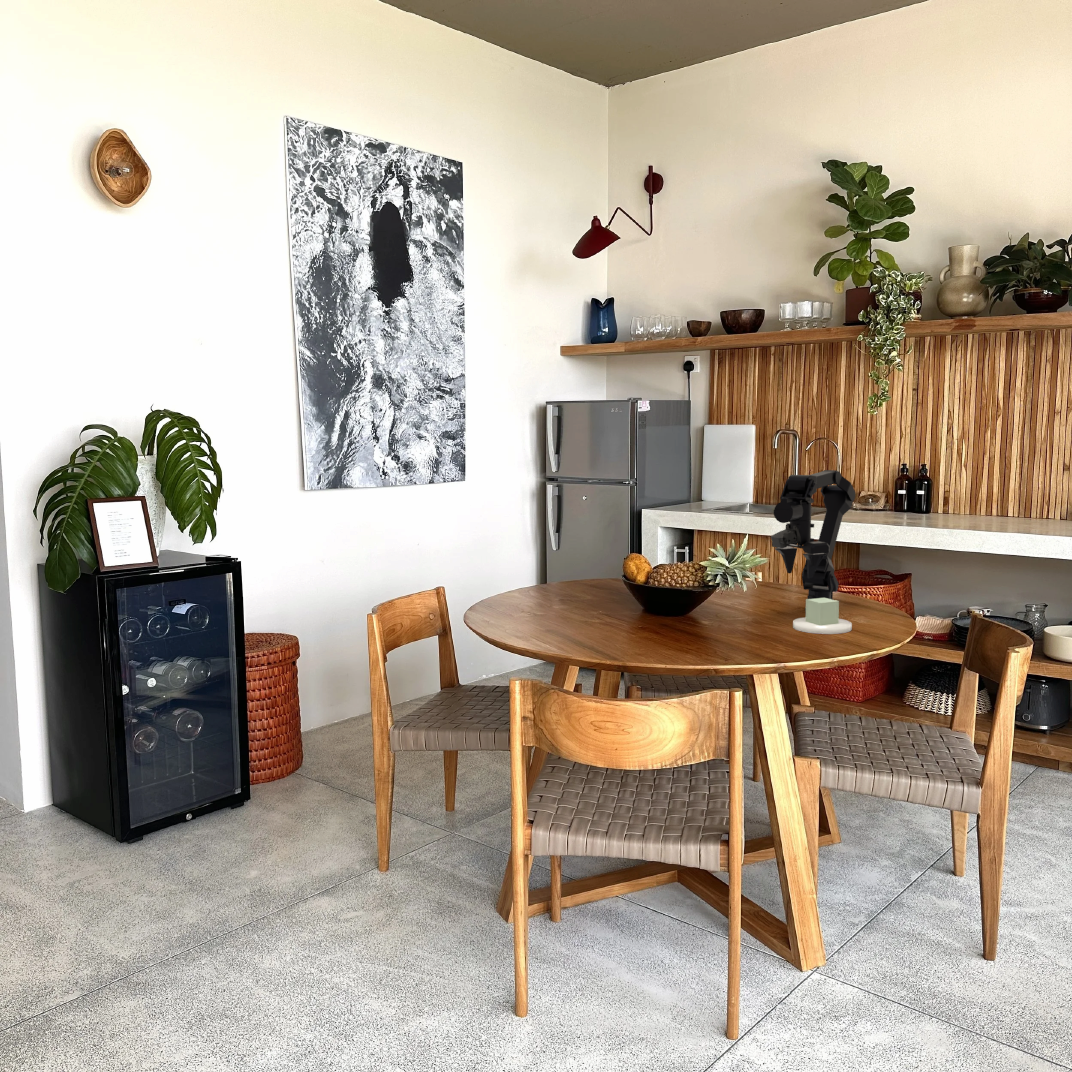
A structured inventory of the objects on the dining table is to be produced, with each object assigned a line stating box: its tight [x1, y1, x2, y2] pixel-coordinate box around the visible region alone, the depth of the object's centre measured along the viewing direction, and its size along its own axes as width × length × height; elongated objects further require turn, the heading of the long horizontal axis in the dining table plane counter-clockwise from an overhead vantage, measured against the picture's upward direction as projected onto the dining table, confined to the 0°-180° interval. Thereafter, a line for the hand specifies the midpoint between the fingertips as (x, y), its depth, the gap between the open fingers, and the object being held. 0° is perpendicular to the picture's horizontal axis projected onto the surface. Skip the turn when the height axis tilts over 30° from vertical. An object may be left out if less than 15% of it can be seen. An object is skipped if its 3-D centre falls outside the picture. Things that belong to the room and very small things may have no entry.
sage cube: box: [805, 598, 840, 625], centre depth 259 cm, size 6×6×6 cm
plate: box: [792, 616, 853, 635], centre depth 259 cm, size 15×15×2 cm
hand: (799, 575), depth 272 cm, fingers open, 9 cm apart
